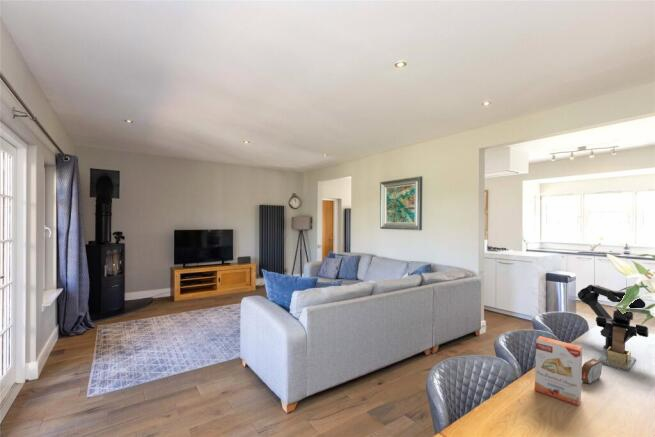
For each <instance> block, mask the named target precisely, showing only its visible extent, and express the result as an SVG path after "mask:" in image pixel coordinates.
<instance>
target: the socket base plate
mask: <svg viewBox="0 0 655 437" xmlns="http://www.w3.org/2000/svg"><path fill="white" fill-rule="evenodd" d="M631 352H632V351H630V350H627V349H625V354H621V353H617V352H614V351H612V347H611V346H610V347H609V348H608V349H606V350H605V351H604V352H603V353H602V354H601V355H600V356H599V358H597V360H598V361H600V362H602V365H604V366H608V367H611V368H614V369H616V370H617V369H618V370H620V371H624V372H629V371H630V370H631V368H632V366H634V363H635V362H636V361H637V358H636V357H634V356H632V355H631V354H632V353H631Z"/></svg>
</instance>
